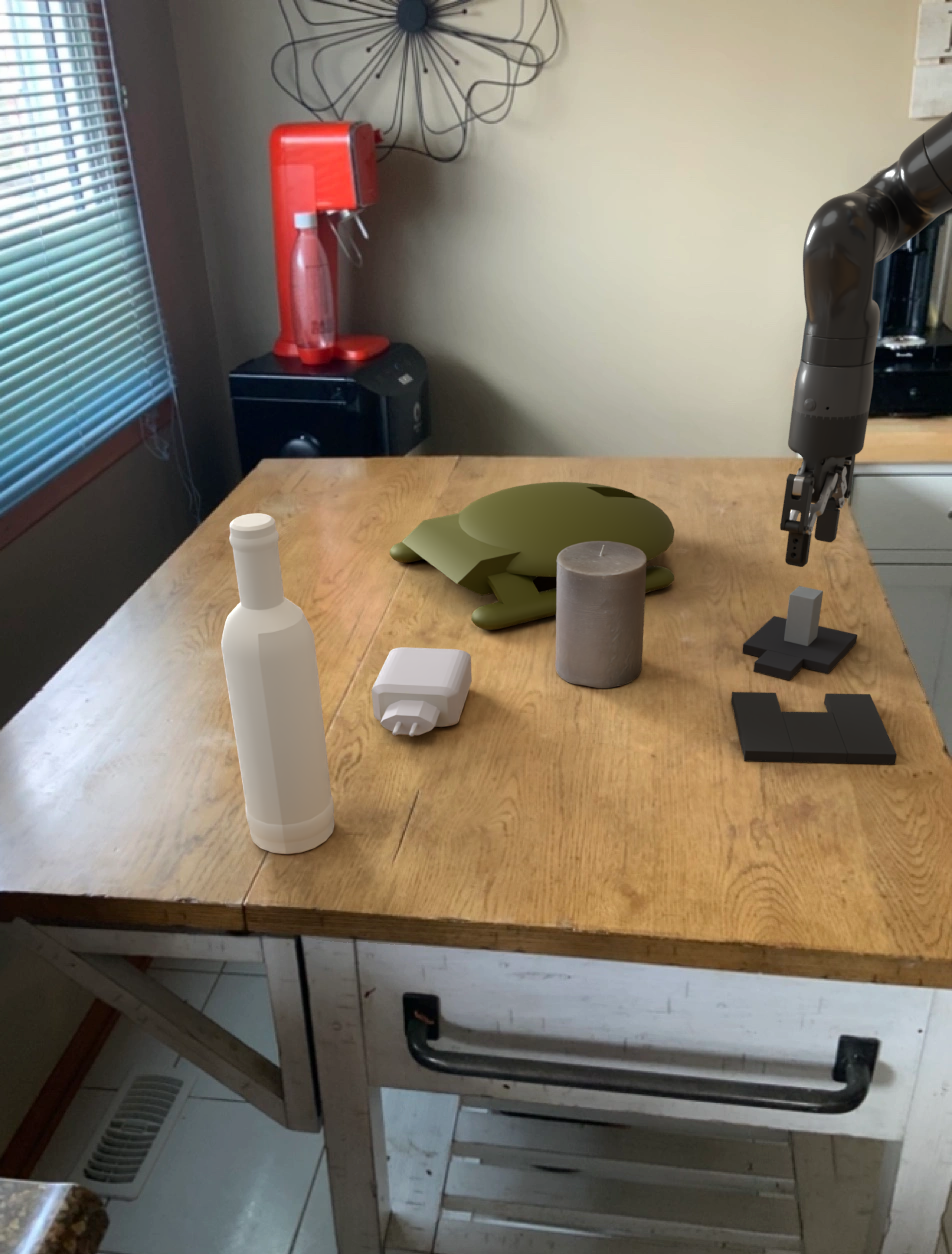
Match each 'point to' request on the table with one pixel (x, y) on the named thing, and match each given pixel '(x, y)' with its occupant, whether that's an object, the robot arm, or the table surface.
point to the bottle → (275, 699)
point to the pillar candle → (600, 613)
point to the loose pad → (795, 653)
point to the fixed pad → (812, 730)
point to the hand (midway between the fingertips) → (810, 552)
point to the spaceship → (533, 542)
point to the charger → (421, 689)
